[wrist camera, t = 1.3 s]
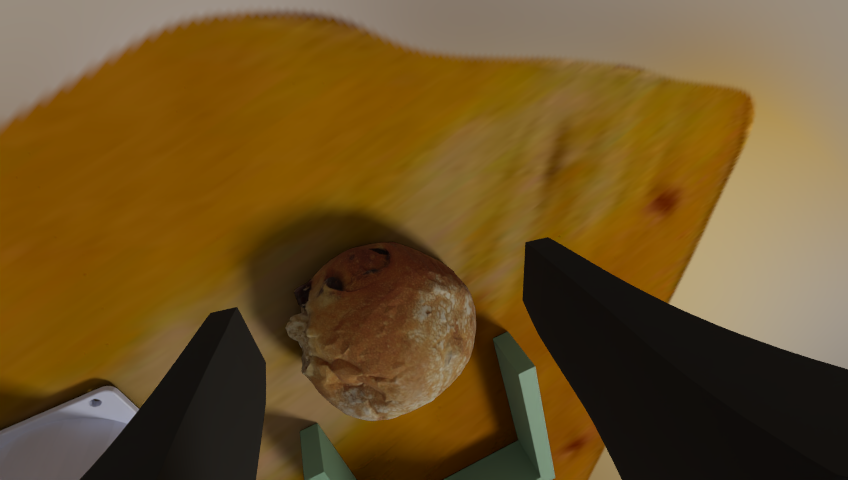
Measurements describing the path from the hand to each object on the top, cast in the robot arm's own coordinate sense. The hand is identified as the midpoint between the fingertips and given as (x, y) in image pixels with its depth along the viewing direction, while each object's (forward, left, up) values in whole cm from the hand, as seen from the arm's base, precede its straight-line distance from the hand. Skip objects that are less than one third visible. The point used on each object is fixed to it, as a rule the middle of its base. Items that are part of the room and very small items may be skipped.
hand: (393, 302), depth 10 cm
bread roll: (-1, -9, -12) cm, 15 cm away
